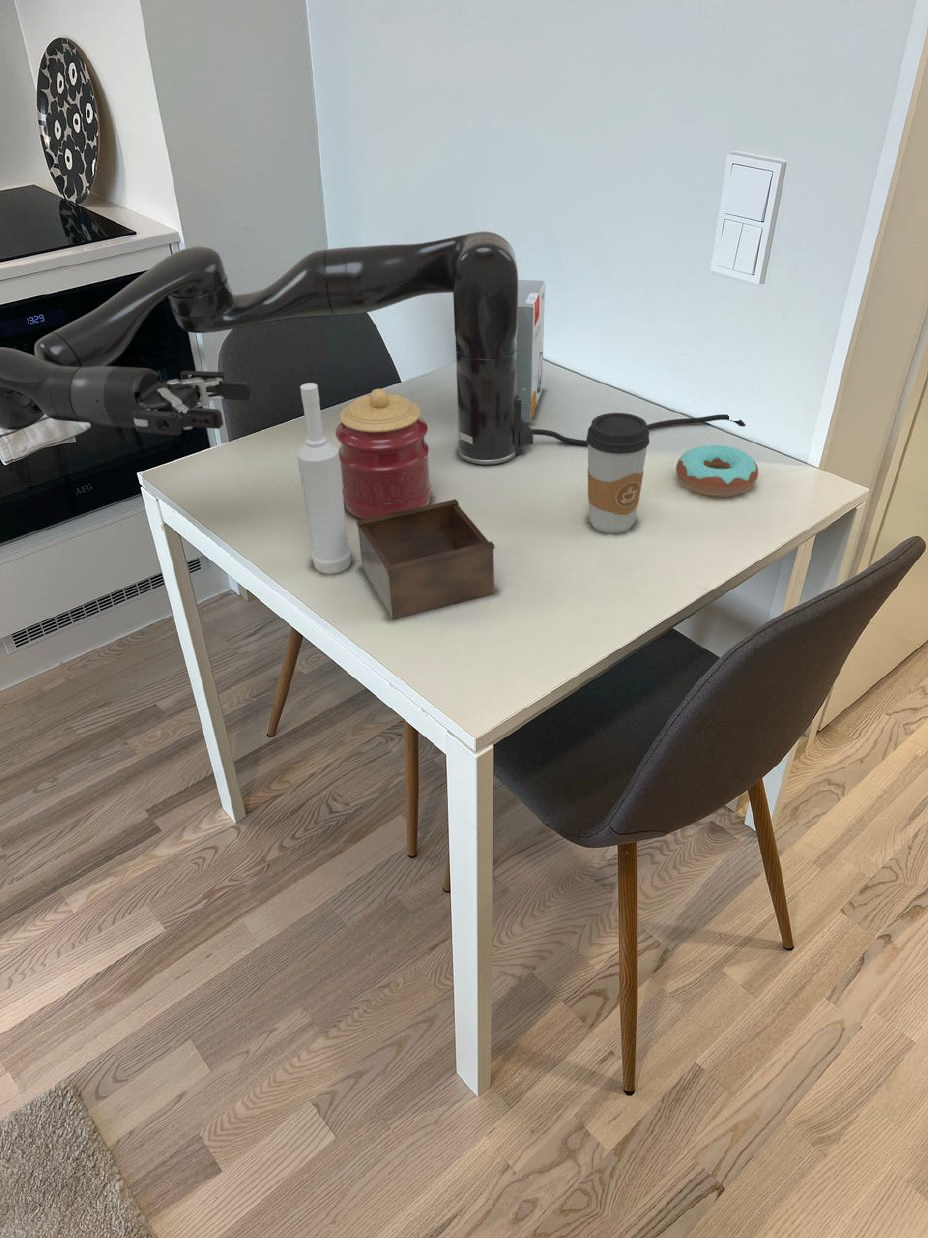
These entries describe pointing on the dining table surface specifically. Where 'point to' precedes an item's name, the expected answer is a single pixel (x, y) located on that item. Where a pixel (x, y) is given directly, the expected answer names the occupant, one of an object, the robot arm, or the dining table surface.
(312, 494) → the bottle
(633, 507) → the coffee cup
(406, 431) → the kitchen canister
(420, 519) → the crate
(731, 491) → the donut
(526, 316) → the hard drive box
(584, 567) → the dining table surface
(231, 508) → the dining table surface
